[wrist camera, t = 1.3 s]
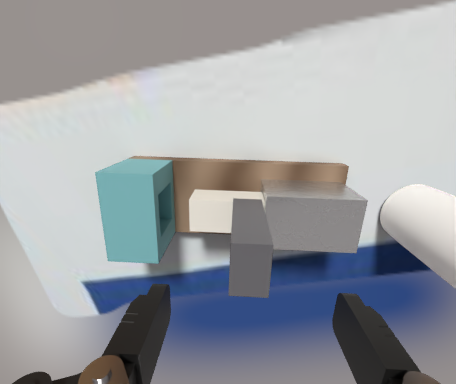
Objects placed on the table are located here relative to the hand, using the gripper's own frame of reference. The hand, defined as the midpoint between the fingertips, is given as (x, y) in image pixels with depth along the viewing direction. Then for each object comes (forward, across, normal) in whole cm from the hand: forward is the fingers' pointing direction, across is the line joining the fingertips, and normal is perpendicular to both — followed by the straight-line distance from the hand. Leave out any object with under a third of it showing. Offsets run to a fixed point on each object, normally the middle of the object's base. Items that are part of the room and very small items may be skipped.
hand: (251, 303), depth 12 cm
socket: (+15, +10, 0) cm, 18 cm away
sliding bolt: (+13, -2, 0) cm, 13 cm away
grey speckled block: (+15, -6, 0) cm, 16 cm away
